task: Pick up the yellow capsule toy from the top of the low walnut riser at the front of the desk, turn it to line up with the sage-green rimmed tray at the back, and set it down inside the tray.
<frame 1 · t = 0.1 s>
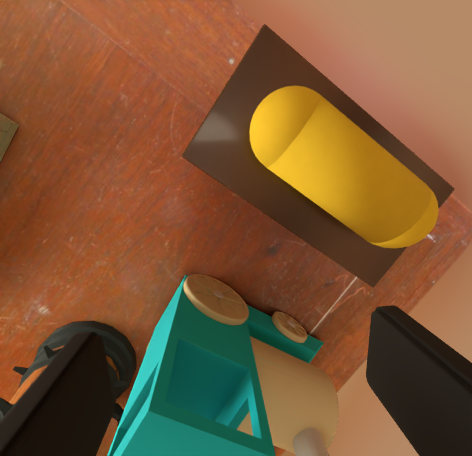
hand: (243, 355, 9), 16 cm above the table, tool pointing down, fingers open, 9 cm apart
toy train: (241, 328, 27), on the table
mug: (102, 365, 27), on the table
riser: (285, 172, 24), on the table
yellow capsule toy: (326, 173, 15), point 9 cm above the table, touching riser
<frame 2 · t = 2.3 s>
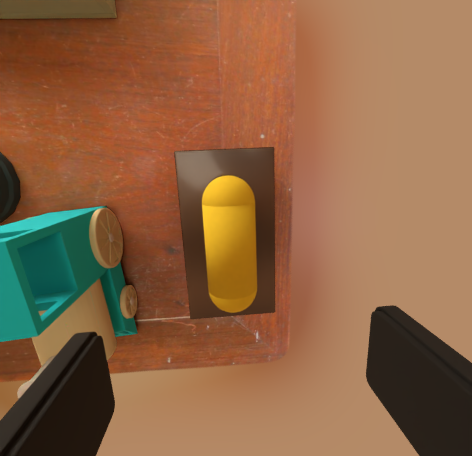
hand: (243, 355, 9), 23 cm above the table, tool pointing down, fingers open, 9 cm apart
toy train: (100, 273, 31), on the table
riser: (225, 218, 31), on the table
yellow capsule toy: (229, 239, 22), point 9 cm above the table, touching riser
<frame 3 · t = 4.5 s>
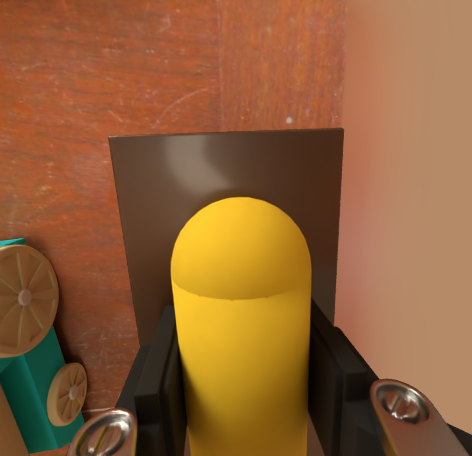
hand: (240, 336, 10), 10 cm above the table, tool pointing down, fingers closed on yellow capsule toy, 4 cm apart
toy train: (26, 342, 19), on the table
riser: (227, 254, 19), on the table
yellow capsule toy: (239, 328, 10), point 9 cm above the table, touching gripper, riser
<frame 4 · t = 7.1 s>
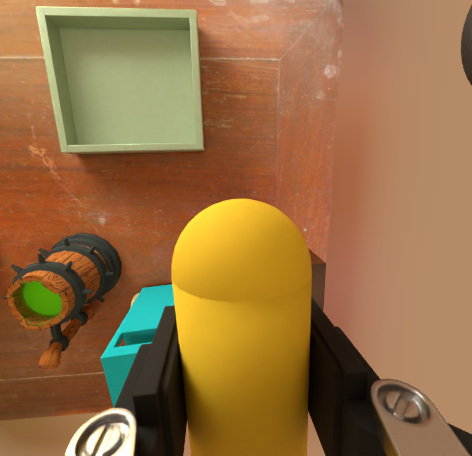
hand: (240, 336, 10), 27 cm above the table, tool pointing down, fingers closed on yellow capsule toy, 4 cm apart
toy train: (174, 329, 40), on the table
mug: (89, 274, 37), on the table
riser: (274, 288, 40), on the table
tray: (135, 92, 32), on the table
yellow capsule toy: (239, 329, 10), point 27 cm above the table, touching gripper
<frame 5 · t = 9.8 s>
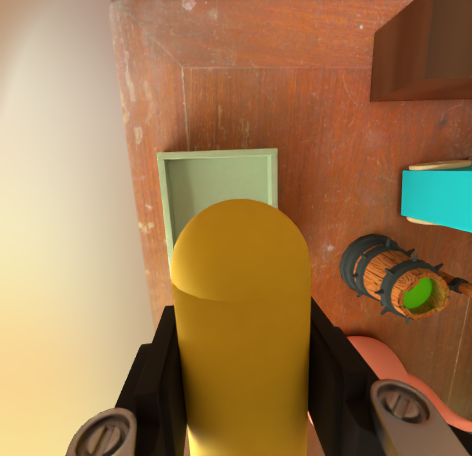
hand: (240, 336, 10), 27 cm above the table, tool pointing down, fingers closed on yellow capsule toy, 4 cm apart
toy train: (449, 185, 38), on the table
mug: (377, 262, 40), on the table
riser: (426, 67, 33), on the table
teapot: (349, 365, 44), on the table
tray: (221, 213, 36), on the table
yellow capsule toy: (239, 329, 10), point 26 cm above the table, touching gripper
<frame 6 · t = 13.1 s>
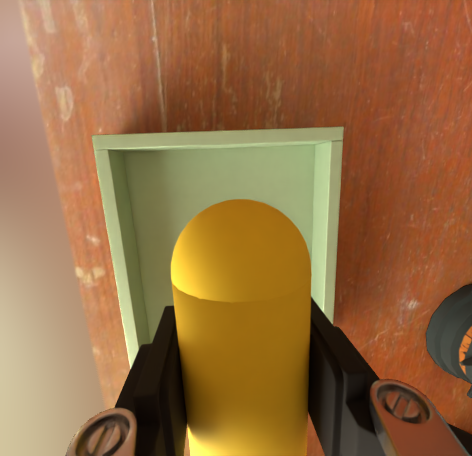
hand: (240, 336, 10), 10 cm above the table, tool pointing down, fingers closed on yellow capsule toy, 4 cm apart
tray: (226, 249, 20), on the table
yellow capsule toy: (239, 329, 10), point 10 cm above the table, touching gripper
when the fingers open (1 cm above the table, at t = 15.5 s): yellow capsule toy stays where it is, resting on tray.
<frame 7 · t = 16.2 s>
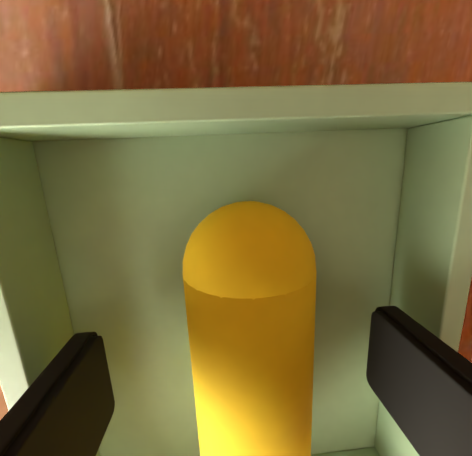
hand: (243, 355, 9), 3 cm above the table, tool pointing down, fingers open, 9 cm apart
tray: (236, 314, 11), on the table
yellow capsule toy: (239, 327, 10), point 1 cm above the table, tilted 7°, touching tray
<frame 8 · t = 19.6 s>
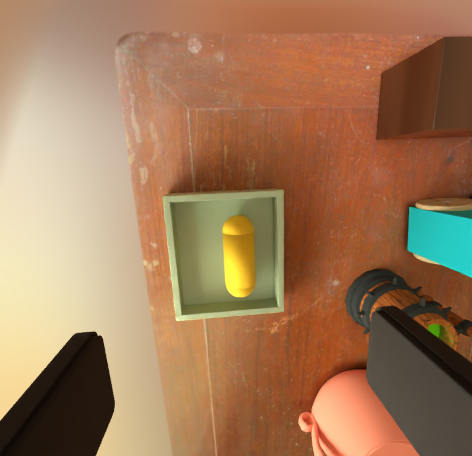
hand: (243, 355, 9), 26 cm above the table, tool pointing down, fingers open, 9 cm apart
toy train: (455, 220, 37), on the table
mug: (383, 296, 39), on the table
riser: (433, 105, 33), on the table
teapot: (354, 397, 43), on the table
tray: (226, 250, 35), on the table
yellow capsule toy: (228, 254, 34), point 1 cm above the table, tilted 44°, touching tray
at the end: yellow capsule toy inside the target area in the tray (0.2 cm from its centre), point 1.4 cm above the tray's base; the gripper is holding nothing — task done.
